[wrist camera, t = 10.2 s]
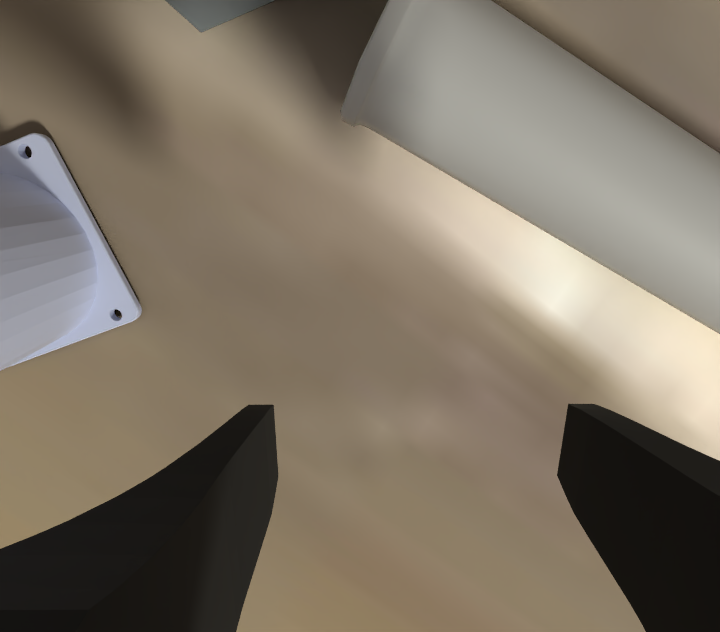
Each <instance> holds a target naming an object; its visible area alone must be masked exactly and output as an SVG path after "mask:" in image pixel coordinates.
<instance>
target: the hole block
mask: <svg viewBox="0 0 720 632" xmlns="http://www.w3.org/2000/svg"><path fill="white" fill-rule="evenodd" d="M165 1H166V2H168V3H169V4H170V5H171V6H172V7H173V8H174V9H175V10H177V11H178V12H179V13H180V14H181V15H182V16H183V17H184V18H185V19H187V20H188V21H189V22H190V23H191V24H192V25H193V26H194V27H195V28H197V29H198V30H199V31H200V32H203V31H206V30H208V29H210V28H213V27H215V26H217V25H220V24H222V23H224V22H226V21H229V20H231V19H233V18H236V17H238V16H240V15H243V14H245V13H247V12H249V11H252V10H254V9H256V8H259V7H261V6H263V5H266V4H268V3H270V2H272V1H275V0H165Z"/></svg>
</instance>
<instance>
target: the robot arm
mask: <svg viewBox="0 0 720 632" xmlns="http://www.w3.org/2000/svg"><path fill="white" fill-rule="evenodd" d="M27 146H29V148H30V149H31V151H32V155H31V157H30V158H29V157H28V156H27V155H26V153H25V148H26V147H27ZM115 309H117V310H119V311H120V312H121V313H122V318H119V317H117V316H116V315H115V312H114V311H115ZM141 312H142V309H141V305H140V303H139V302H138V300H137V298H136V296H135V294H134V292H133V290H132V289H131V287H130V285H129V283H128V281H127V279H126V277H125V275H124V274H123V272H122V270H121V268H120V266H119V264H118V262H117V261H116V259H115V257H114V255H113V253H112V251H111V249H110V247H109V246H108V244H107V242H106V240H105V238H104V236H103V234H102V233H101V231H100V229H99V227H98V225H97V223H96V221H95V219H94V218H93V216H92V214H91V212H90V210H89V208H88V206H87V205H86V203H85V201H84V199H83V197H82V195H81V193H80V191H79V190H78V188H77V186H76V184H75V182H74V180H73V178H72V177H71V175H70V173H69V171H68V169H67V167H66V165H65V163H64V162H63V160H62V158H61V156H60V154H59V152H58V150H57V149H56V147H55V145H54V143H53V142H52V140H51V139H50V138H49V137H48V136H46V135H44V134H39V133H31V134H28V135H26V136H23V137H21V138H19V139H16V140H14V141H12V142H9V143H7V144H5V145H2V146H0V371H1V370H3V369H5V368H7V367H10V366H13V365H15V364H18V363H21V362H23V361H26V360H29V359H32V358H34V357H37V356H40V355H42V354H45V353H48V352H51V351H53V350H56V349H59V348H61V347H64V346H67V345H70V344H72V343H75V342H78V341H80V340H83V339H86V338H89V337H91V336H94V335H97V334H99V333H102V332H105V331H108V330H110V329H113V328H116V327H118V326H121V325H124V324H127V323H129V322H132V321H134V320H135V319H137V318H138V317H140V315H141ZM557 476H558V478H559V481H560V483H561V485H562V488H563V490H564V492H565V495H566V497H567V499H568V501H569V503H570V506H571V508H572V510H573V512H574V514H575V516H576V517H577V519H578V521H579V522H580V524H581V526H582V527H583V529H584V530H585V532H586V534H587V535H588V537H589V539H590V540H591V542H592V543H593V545H594V547H595V548H596V550H597V551H598V553H599V555H600V556H601V558H602V559H603V561H604V563H605V564H606V566H607V567H608V569H609V571H610V572H611V574H612V575H613V577H614V579H615V580H616V582H617V583H618V585H619V587H620V588H621V590H622V591H623V593H624V595H625V596H626V598H627V599H628V601H629V603H630V604H631V606H632V608H633V609H634V611H635V613H636V615H637V616H638V618H639V620H640V622H641V623H642V625H643V627H644V629H645V631H646V632H720V461H719V460H716V459H714V458H712V457H709V456H707V455H705V454H703V453H700V452H698V451H696V450H694V449H692V448H689V447H687V446H685V445H683V444H681V443H679V442H677V441H674V440H672V439H670V438H668V437H666V436H664V435H662V434H660V433H658V432H656V431H654V430H652V429H649V428H647V427H645V426H643V425H641V424H639V423H637V422H635V421H633V420H631V419H629V418H626V417H624V416H622V415H620V414H618V413H615V412H613V411H611V410H608V409H606V408H603V407H601V406H598V405H595V404H568V409H567V416H566V422H565V428H564V435H563V441H562V448H561V454H560V460H559V467H558V473H557ZM277 481H278V464H277V449H276V434H275V420H274V405H248V406H246V407H245V408H244V409H242V410H241V411H240V412H238V413H237V414H236V415H235V416H233V417H232V418H231V419H230V420H228V421H227V422H226V423H225V424H223V425H222V426H221V427H220V428H218V429H217V430H216V431H215V432H213V433H212V434H211V435H210V436H208V437H207V438H206V439H204V440H203V441H202V442H201V443H199V444H198V445H197V446H195V447H194V448H192V449H191V450H190V451H188V452H187V453H185V454H184V455H182V456H181V457H180V458H178V459H177V460H175V461H174V462H173V463H171V464H170V465H168V466H167V467H165V468H164V469H162V470H161V471H159V472H158V473H156V474H155V475H153V476H151V477H150V478H148V479H147V480H145V481H143V482H141V483H140V484H138V485H136V486H135V487H133V488H131V489H129V490H128V491H126V492H124V493H122V494H121V495H119V496H117V497H115V498H113V499H111V500H109V501H107V502H105V503H103V504H101V505H99V506H97V507H95V508H93V509H91V510H89V511H87V512H85V513H83V514H81V515H79V516H77V517H75V518H73V519H71V520H69V521H66V522H64V523H62V524H60V525H58V526H55V527H53V528H51V529H48V530H46V531H44V532H41V533H39V534H37V535H34V536H32V537H29V538H27V539H24V540H22V541H19V542H17V543H14V544H12V545H9V546H7V547H4V548H2V549H0V632H236V630H237V626H238V622H239V618H240V615H241V611H242V607H243V604H244V601H245V597H246V594H247V591H248V588H249V585H250V582H251V578H252V575H253V572H254V569H255V566H256V563H257V559H258V556H259V553H260V550H261V547H262V543H263V540H264V537H265V534H266V531H267V527H268V524H269V521H270V517H271V514H272V509H273V503H274V498H275V492H276V487H277Z"/></svg>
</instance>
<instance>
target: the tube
mask: <svg viewBox="0 0 720 632" xmlns="http://www.w3.org/2000/svg"><path fill="white" fill-rule="evenodd" d="M340 112H341V116H342V120H343V121H344V122H346V123H348V124H350V125H351V126H353V127H355V126H356V125H359V124H361V125H363V126H365V127H368V128H370V129H371V130H373V131H375V132H376V133H378V134H380V135H382V136H383V137H385V138H387V139H388V140H390V141H392V142H393V143H395V144H397V145H399V146H400V147H402V148H404V149H405V150H407V151H409V152H410V153H412V154H414V155H416V156H417V157H419V158H421V159H422V160H424V161H426V162H428V163H429V164H431V165H433V166H434V167H436V168H438V169H439V170H441V171H443V172H445V173H446V174H448V175H450V176H451V177H453V178H455V179H457V180H458V181H460V182H462V183H463V184H465V185H467V186H468V187H470V188H472V189H474V190H475V191H477V192H479V193H480V194H482V195H484V196H486V197H487V198H489V199H491V200H492V201H494V202H496V203H497V204H499V205H501V206H503V207H504V208H506V209H508V210H509V211H511V212H513V213H514V214H516V215H518V216H520V217H521V218H523V219H525V220H526V221H528V222H530V223H532V224H533V225H535V226H537V227H538V228H540V229H542V230H543V231H545V232H547V233H549V234H550V235H552V236H554V237H555V238H557V239H559V240H561V241H562V242H564V243H566V244H567V245H569V246H571V247H572V248H574V249H576V250H578V251H579V252H581V253H583V254H584V255H586V256H588V257H589V258H591V259H593V260H595V261H596V262H598V263H600V264H601V265H603V266H605V267H607V268H608V269H610V270H612V271H613V272H615V273H617V274H618V275H620V276H622V277H624V278H625V279H627V280H629V281H630V282H632V283H634V284H636V285H637V286H639V287H641V288H642V289H644V290H646V291H647V292H649V293H651V294H653V295H654V296H656V297H658V298H659V299H661V300H663V301H664V302H666V303H668V304H670V305H671V306H673V307H675V308H676V309H678V310H680V311H682V312H683V313H685V314H687V315H688V316H690V317H692V318H693V319H695V320H697V321H699V322H700V323H702V324H704V325H705V326H707V327H709V328H711V329H712V330H714V331H716V332H717V333H719V334H720V154H719V153H718V152H716V151H715V150H714V149H712V148H711V147H709V146H708V145H706V144H705V143H703V142H702V141H700V140H699V139H697V138H696V137H694V136H693V135H691V134H690V133H688V132H687V131H685V130H684V129H682V128H681V127H679V126H678V125H676V124H675V123H673V122H672V121H670V120H669V119H667V118H666V117H664V116H663V115H661V114H660V113H658V112H657V111H655V110H654V109H652V108H651V107H649V106H648V105H646V104H645V103H643V102H642V101H640V100H639V99H637V98H636V97H634V96H633V95H632V94H630V93H629V92H627V91H626V90H624V89H623V88H621V87H620V86H618V85H617V84H615V83H614V82H612V81H611V80H609V79H608V78H606V77H605V76H603V75H602V74H600V73H599V72H597V71H596V70H594V69H593V68H591V67H590V66H588V65H587V64H585V63H584V62H582V61H581V60H579V59H578V58H576V57H575V56H573V55H572V54H570V53H569V52H567V51H566V50H564V49H563V48H561V47H560V46H558V45H557V44H555V43H554V42H552V41H551V40H550V39H548V38H547V37H545V36H544V35H542V34H541V33H539V32H538V31H536V30H535V29H533V28H532V27H530V26H529V25H527V24H526V23H524V22H523V21H521V20H520V19H518V18H517V17H515V16H514V15H512V14H511V13H509V12H508V11H506V10H505V9H503V8H502V7H500V6H499V5H497V4H496V3H494V2H493V1H491V0H388V2H387V4H386V6H385V8H384V10H383V12H382V14H381V16H380V18H379V21H378V23H377V25H376V27H375V29H374V31H373V33H372V35H371V37H370V39H369V41H368V43H367V46H366V48H365V50H364V52H363V54H362V56H361V58H360V60H359V63H358V65H357V68H356V71H355V73H354V76H353V78H352V81H351V84H350V86H349V89H348V92H347V94H346V97H345V100H344V102H343V105H342V108H341V110H340Z"/></svg>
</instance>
